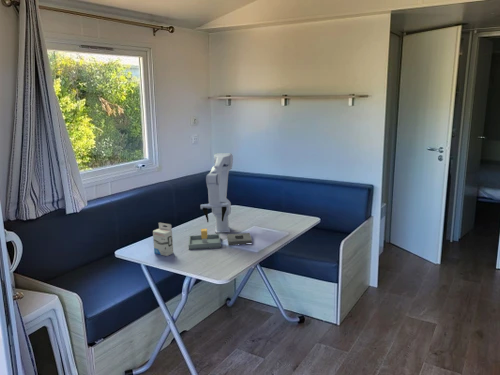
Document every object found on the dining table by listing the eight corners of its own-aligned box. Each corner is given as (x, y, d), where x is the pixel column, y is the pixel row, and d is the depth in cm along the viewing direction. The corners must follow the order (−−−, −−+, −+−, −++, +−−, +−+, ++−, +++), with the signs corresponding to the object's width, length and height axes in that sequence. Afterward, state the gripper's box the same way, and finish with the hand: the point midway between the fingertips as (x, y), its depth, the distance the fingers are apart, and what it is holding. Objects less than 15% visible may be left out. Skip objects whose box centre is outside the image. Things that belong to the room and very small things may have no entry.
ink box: (153, 253, 216) (151, 225, 213) (160, 250, 220) (158, 222, 217) (167, 256, 212) (165, 227, 208) (174, 253, 216) (172, 224, 213)
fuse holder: (227, 237, 235) (227, 234, 235) (249, 236, 237) (249, 232, 236) (228, 245, 224) (228, 241, 223) (252, 244, 225) (251, 240, 224)
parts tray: (189, 240, 233) (189, 235, 233) (219, 238, 235) (219, 233, 234) (188, 249, 220) (188, 244, 219) (220, 247, 221) (220, 242, 221)
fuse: (201, 241, 229) (201, 228, 227) (207, 241, 229) (207, 228, 227) (201, 244, 225) (201, 231, 223) (207, 244, 225) (207, 231, 223)
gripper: (199, 198, 224) (201, 224, 227) (228, 197, 226) (229, 222, 228) (199, 195, 231) (201, 220, 234) (227, 194, 232) (228, 218, 235)
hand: (215, 221), depth 232 cm, fingers open, 7 cm apart
